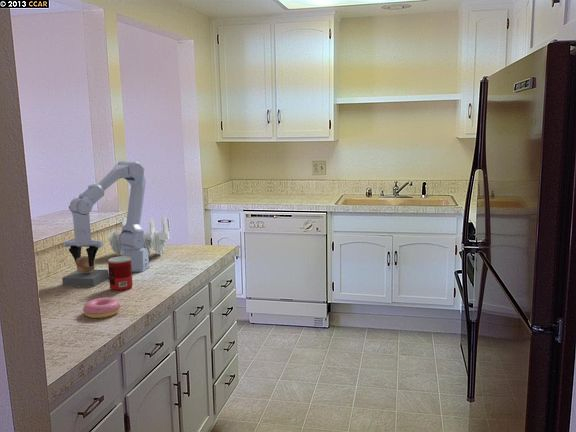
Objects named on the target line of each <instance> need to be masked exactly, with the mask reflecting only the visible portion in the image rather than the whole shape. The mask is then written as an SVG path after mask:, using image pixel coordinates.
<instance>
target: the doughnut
mask: <svg viewBox="0 0 576 432" xmlns="http://www.w3.org/2000/svg"><path fill="white" fill-rule="evenodd" d="M120 309H121V303H120V302H119V300H117V299H116V298H114V297H97V298H95V299H91V300H89V301H87V302H85V304H84V305H83V307H82V312H83V314H84V315H85V316H86V317H88V318H91V319H105V318H109V317H112V316H114V315H116V314H117V313H118V312H119V311H120Z"/></svg>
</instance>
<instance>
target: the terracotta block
mask: <svg viewBox="0 0 576 432" xmlns="http://www.w3.org/2000/svg"><path fill="white" fill-rule="evenodd" d="M76 262H77V265H76V270H77V272H91V271H92V270H96V268H95V264H94V265H93V266H89V260H88V255H81V257H80V258H78V259H76ZM76 262H75V263H76Z"/></svg>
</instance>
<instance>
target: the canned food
mask: <svg viewBox="0 0 576 432" xmlns="http://www.w3.org/2000/svg"><path fill="white" fill-rule="evenodd" d="M107 264H108V265H107V266H108V267H107V268H108V275H109V277H108V279H109V288H110V290H111V291H112V292H125V291H129V290H131V289H132V288H133V285H134V283H133V272H132V265H131V257H127V256H122V255H121V256H120V255H119V256H114V257H110V258H109V259H108V260H107Z"/></svg>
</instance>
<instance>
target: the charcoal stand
mask: <svg viewBox="0 0 576 432" xmlns="http://www.w3.org/2000/svg"><path fill="white" fill-rule="evenodd" d="M61 279H62V281H61V283H62V287H88V288H89V287H90V288H91V287H92V288H93V287H95V286H98V285H99V284H101V283H102V282H104V281H105V280H106V279H109V269H94V270H92V271H91V272H77V269H76V270H75V271H73V272H71V273H69V274H67V275H66V276H63V277H62V278H61Z"/></svg>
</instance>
